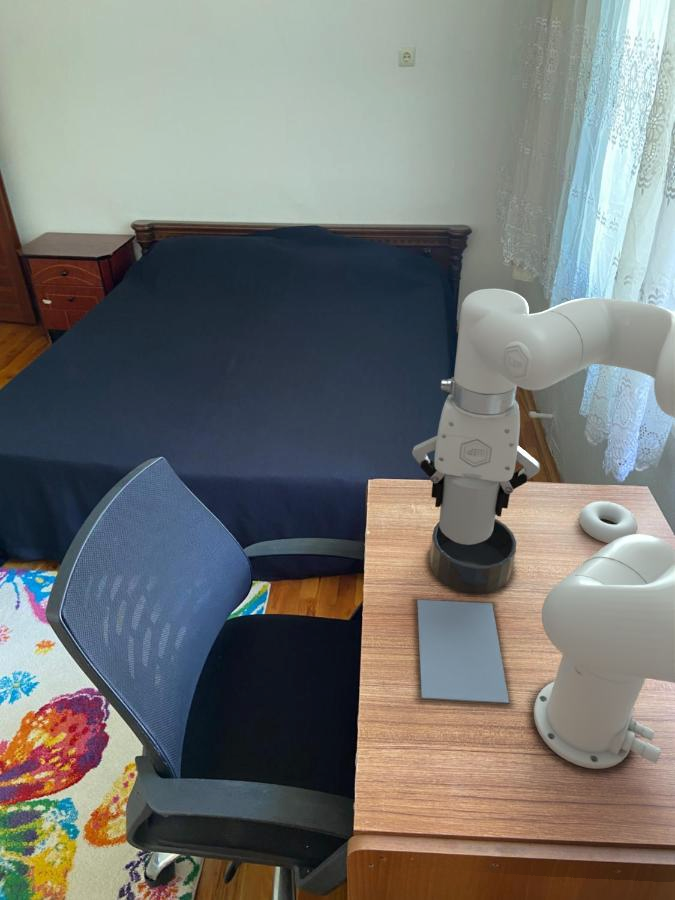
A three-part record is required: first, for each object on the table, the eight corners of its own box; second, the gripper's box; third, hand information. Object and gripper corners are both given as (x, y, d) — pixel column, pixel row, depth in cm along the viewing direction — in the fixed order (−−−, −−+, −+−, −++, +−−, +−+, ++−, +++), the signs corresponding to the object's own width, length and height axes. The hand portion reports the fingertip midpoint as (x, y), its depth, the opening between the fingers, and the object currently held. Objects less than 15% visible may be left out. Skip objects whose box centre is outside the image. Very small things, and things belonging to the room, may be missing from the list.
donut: (641, 549, 114) (626, 512, 122) (646, 535, 112) (631, 498, 120) (583, 546, 115) (572, 509, 123) (588, 531, 113) (576, 495, 121)
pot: (522, 556, 113) (528, 531, 109) (491, 607, 103) (496, 580, 100) (451, 527, 119) (454, 502, 116) (415, 572, 110) (418, 546, 106)
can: (486, 513, 94) (496, 444, 87) (497, 548, 88) (509, 477, 81) (434, 514, 94) (441, 445, 87) (442, 549, 88) (450, 478, 81)
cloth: (417, 600, 104) (417, 599, 104) (491, 604, 104) (492, 603, 103) (421, 698, 90) (421, 697, 89) (508, 703, 89) (509, 702, 89)
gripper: (407, 399, 77) (401, 513, 87) (558, 417, 73) (533, 533, 83) (417, 371, 83) (410, 480, 93) (557, 386, 79) (534, 498, 89)
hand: (468, 505), depth 88 cm, fingers closed on can, 7 cm apart
